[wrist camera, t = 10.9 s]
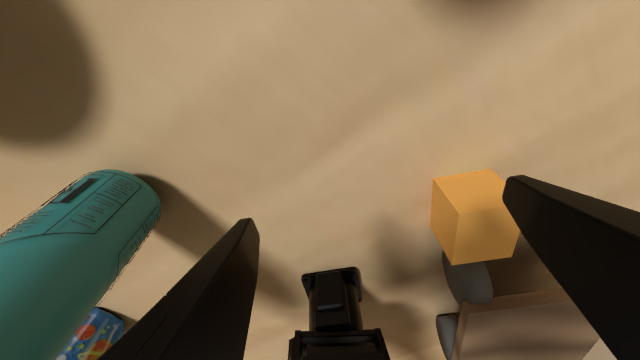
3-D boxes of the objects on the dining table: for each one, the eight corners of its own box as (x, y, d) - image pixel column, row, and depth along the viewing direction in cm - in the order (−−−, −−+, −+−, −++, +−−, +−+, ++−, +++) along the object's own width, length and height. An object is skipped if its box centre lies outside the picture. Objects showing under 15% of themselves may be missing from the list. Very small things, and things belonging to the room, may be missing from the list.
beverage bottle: (122, 143, 21) (-722, 723, 4) (188, 197, 24) (-112, 648, 7) (77, 182, 22) (-616, 684, 6) (144, 227, 25) (-176, 640, 9)
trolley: (528, 321, 37) (608, 435, 27) (431, 333, 39) (473, 446, 28) (579, 213, 26) (748, 340, 16) (439, 235, 27) (514, 366, 17)
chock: (479, 217, 26) (511, 257, 22) (429, 225, 27) (451, 265, 22) (489, 168, 23) (529, 202, 19) (432, 177, 23) (458, 214, 19)
